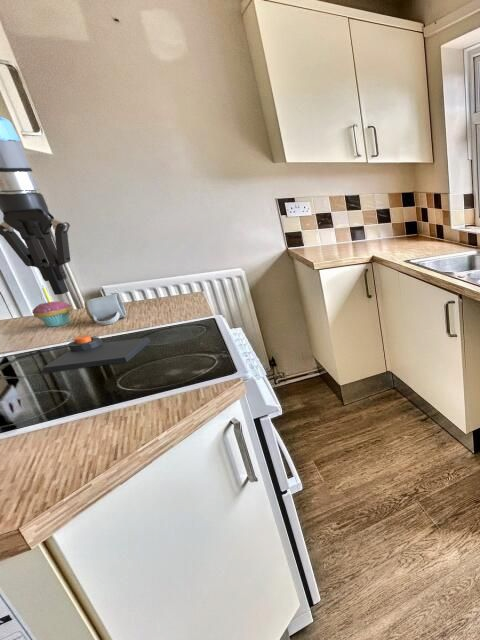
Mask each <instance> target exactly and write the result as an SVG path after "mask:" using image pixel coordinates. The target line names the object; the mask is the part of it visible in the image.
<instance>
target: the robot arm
mask: <svg viewBox="0 0 480 640" xmlns="http://www.w3.org/2000/svg"><path fill="white" fill-rule="evenodd" d="M37 181H38V180H37V179H36V176H35V175H34V172H33V169H32V167H31V164H30V162H29V159H28V157H27V155H26V152H25V150H24V147H23V145H22V143H21V138H20V137H19V135H18V133H17V131H16V129H15V128H14V125H13V123H12V122H11V121H10V120H9V119H8V118H5V117H3V116H0V212H2V216H3V217H2V220H3V222H2V223H0V236H2V237H3V239H4V240H5V241H6V242H7V244H8V245H9V246H10V248H11V249H12V250H13V251H14V252H15V254H16V255H17V256H18V258H19V259H20V260H21V261H22V262H23V264H24V265H25V266H26V267H33V268H36V269H38V271H39V273H40V276H41V277H42V280H43V281H44V282H48V283H49V285H50V287H51V290H52V292H53V294H54V296H57V295H58V296H59V295H65V294H66V293H68V292H70V291H69V287H68V286H67V284H66V281H65V280H66V279H67V278H68V277H67V274H66V272H65V269H64V267H63V266H64V265H65V264H67V263H70V262H71V253H70V244H69V236H68V232H69V229H70V227H71V226H70V223H69V222H67V221H60V220H58V219H55V217H54V216H53V214H51V213H50V212H49V207H48V205H47V202H46V200H45V198H44V195H43V194H42V193H40V192H38V191H40V190H41V188H40V186H39V184H38V182H37ZM51 229H53V230H54V239H55V242H54V240H53V238H52V237H53V235H52V233H51ZM15 231H16V232H15ZM17 232H18V233H19V235H18V234H17ZM23 241H24V242H23Z"/></svg>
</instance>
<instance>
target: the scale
mask: <svg viewBox="0 0 480 640" xmlns="http://www.w3.org/2000/svg"><path fill="white" fill-rule="evenodd" d="M90 337H91V339H92V341H90V342H87V343H83V344H76V342H75V340H73V341H70V342H69V343H68V344H67V346H68V348H69V350H67V351H66V352H65V353H63V354H61V355H60V356H58V357H56V358H55V359H54V360H52V361H51V362H49V363H47V364H45V366H43V367H42V369H43V371H44V373H45V374H46V373H53V372H62V371H67V370H68V371H69V370H77V369H84V368H93V367H99V366H109V365H116V364H122V363H128V362H129V361H130V360H131V359H133V358H134V357H135V356H136V355H138V353H140V352H141V351H142V350H144V348H146V347H147V346H148V345H149V344H150V343H151V342H152V341H151V338H150V337H141V338H132V339H124V340H116V341H114V340H113V341H107V342H106V341H105V342H102V341H101V339H100V337H98V336H90Z"/></svg>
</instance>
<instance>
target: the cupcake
mask: <svg viewBox="0 0 480 640" xmlns="http://www.w3.org/2000/svg"><path fill="white" fill-rule="evenodd" d="M41 289H42V291H43V293H44V296H45V299H46V300H47V302H44V303H39V304H38V305H37V306H35V307H34V308H33V310H32V312H31V313H32V314H33V317H34V318H37V319H39V320H41V321H42V322H43V323H44V324H45V325H46V326H47V327H52V328H53V327H60V326H64V325H67V324H69V323H70V312H72V311H73V310H74V308H73V306H72V305H71V304H70V303H68V302H65V301H58V300H57V301H52V300H51V297H50V296H49V293H48V292H47V288H46V287H45V286H44V285H42V288H41Z"/></svg>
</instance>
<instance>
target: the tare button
mask: <svg viewBox="0 0 480 640" xmlns="http://www.w3.org/2000/svg"><path fill="white" fill-rule="evenodd" d="M91 337H92V336H90V334H84V335H79V336H76V337H74V338H73V341H75V342H76V344H83V343H87V342H90V341H92V339H91Z"/></svg>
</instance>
